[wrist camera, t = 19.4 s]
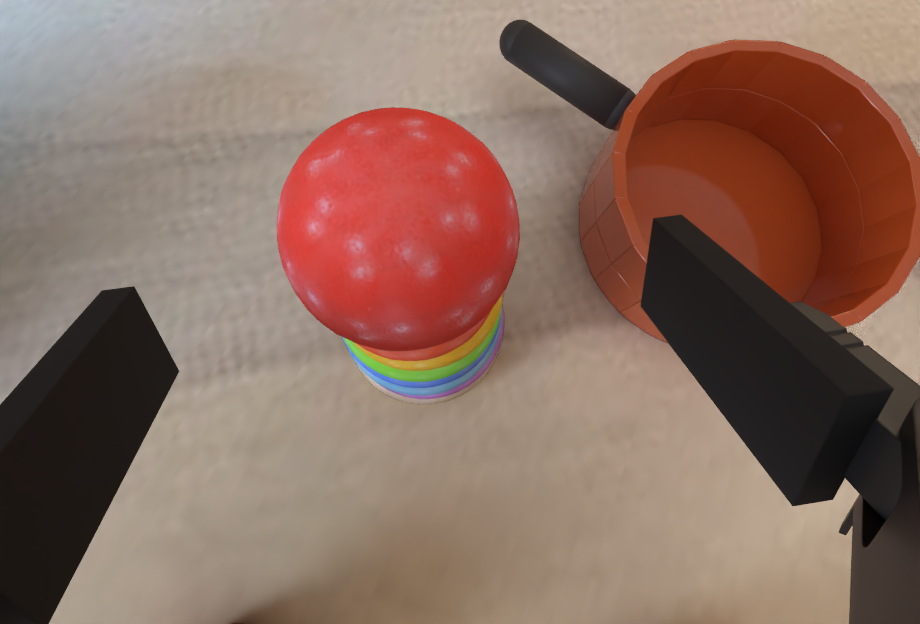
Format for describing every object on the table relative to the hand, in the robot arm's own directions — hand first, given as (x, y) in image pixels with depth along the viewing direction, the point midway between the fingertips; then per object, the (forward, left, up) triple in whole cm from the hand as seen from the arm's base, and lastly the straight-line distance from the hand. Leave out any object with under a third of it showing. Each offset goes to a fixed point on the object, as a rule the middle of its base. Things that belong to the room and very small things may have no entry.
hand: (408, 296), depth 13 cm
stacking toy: (-1, +1, -14) cm, 14 cm away
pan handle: (-3, +15, -10) cm, 19 cm away
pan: (+8, +15, -14) cm, 22 cm away
